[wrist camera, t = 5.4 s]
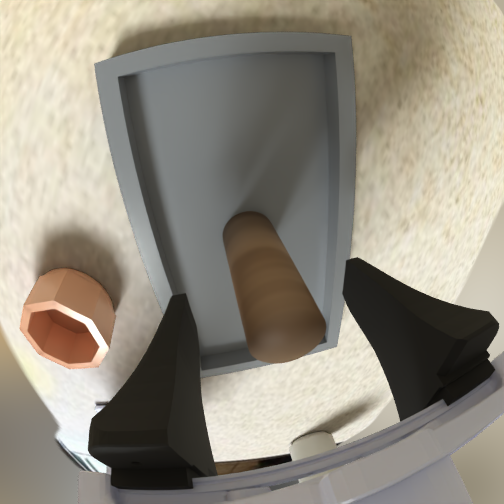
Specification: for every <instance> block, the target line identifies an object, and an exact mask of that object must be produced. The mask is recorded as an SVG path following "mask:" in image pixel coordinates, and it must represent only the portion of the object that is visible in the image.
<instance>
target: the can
mask: <svg viewBox="0 0 504 504" xmlns="http://www.w3.org/2000/svg"><path fill="white" fill-rule="evenodd" d="M335 448H337V446H336V444H335V441H334V439H333V436H332V434H329V433H326V432H324V431H321V432H314V433H311V434H308V435H305V436H303V437H300V438H298V439H297V440H295V441H294V442H293V444H292V445H291V447H290V449H289V451H290V454H291V457H292V461H296V460H299V459H303V458H306V457H310V456H313V455H317V454H320V453H323V452H326V451H329V450H332V449H335ZM343 466H344V465H343ZM340 467H342V466H340ZM337 468H339V467H337ZM337 468H334V469H331V470H328V471H325V472H322V473H319V474H315V475H312V476H309V477H305V478H302V479H298V480H299V483H301V482H304V481H307V480H310V479H313V478H316V477H319V476H322V475H324V474H327V473H329V472H331V471H333V470H335V469H337Z"/></svg>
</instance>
